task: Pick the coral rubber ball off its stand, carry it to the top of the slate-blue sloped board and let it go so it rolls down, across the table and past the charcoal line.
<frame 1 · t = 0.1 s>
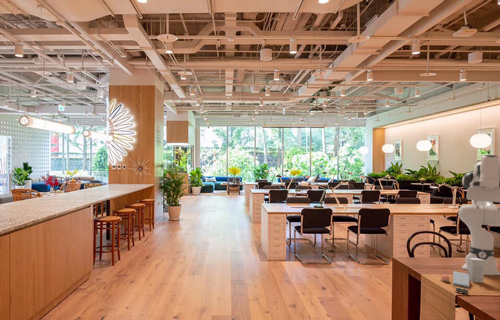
hand: (488, 210, 186), 39 cm above the table, tool pointing down, fingers open, 8 cm apart
line: (461, 288, 174), on the table
skincare box: (475, 281, 187), on the table
ball: (445, 281, 184), on the table
ramp: (460, 283, 182), on the table
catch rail: (461, 293, 167), on the table
stand: (445, 281, 184), on the table
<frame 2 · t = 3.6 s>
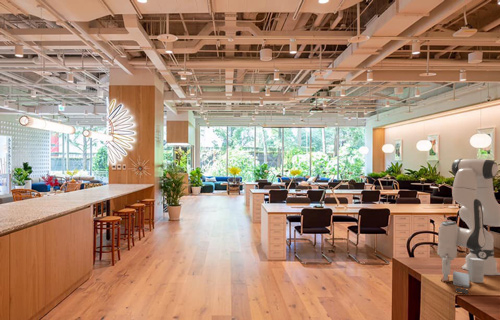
hand: (445, 278, 184), 2 cm above the table, tool pointing down, fingers closed on ball, 4 cm apart
ball: (445, 281, 184), on the table, touching gripper
everything else where it was.
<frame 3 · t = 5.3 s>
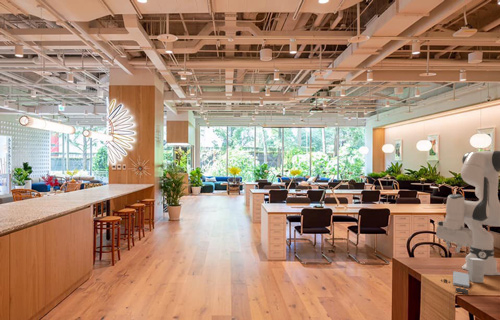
hand: (453, 250, 186), 16 cm above the table, tool pointing down, fingers closed on ball, 4 cm apart
ball: (453, 253, 186), point 14 cm above the table, touching gripper
everything else where it was.
when the fingers open (7 cm above the table, at t = 7.1 s): ball drops 2 cm and tips over, point 3 cm above the table.
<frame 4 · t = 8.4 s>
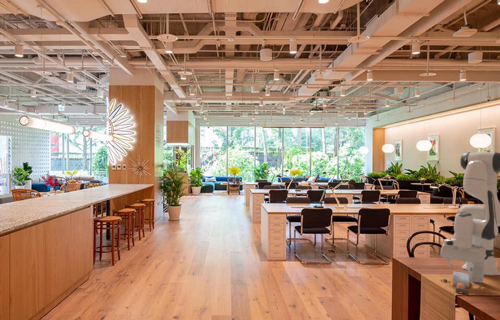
hand: (461, 268, 186), 7 cm above the table, tool pointing down, fingers open, 8 cm apart
ball: (461, 285, 170), point 3 cm above the table, tilted 117°
everything else where it was.
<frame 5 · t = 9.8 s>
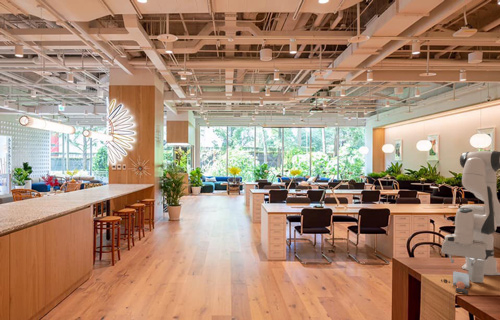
hand: (462, 264, 186), 9 cm above the table, tool pointing down, fingers open, 8 cm apart
ball: (460, 281, 174), point 4 cm above the table, tilted 169°
everything else where it was.
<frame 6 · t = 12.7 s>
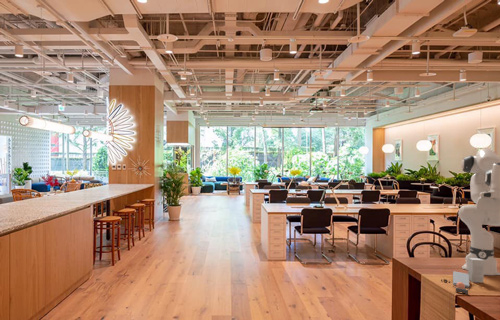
hand: (499, 222, 175), 34 cm above the table, tool pointing down, fingers open, 8 cm apart
ball: (460, 283, 172), point 3 cm above the table, tilted 153°
everything else where it was.
at the end: ball inside the target area (4.1 cm from its centre), point 3.4 cm above the table; the gripper is holding nothing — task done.
